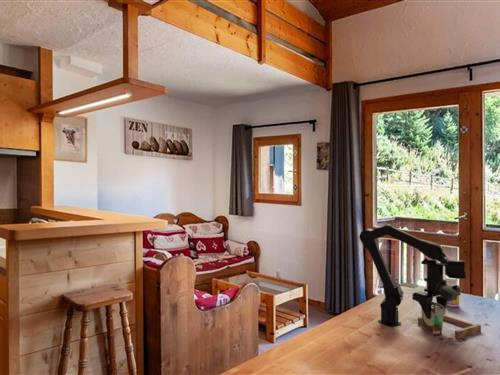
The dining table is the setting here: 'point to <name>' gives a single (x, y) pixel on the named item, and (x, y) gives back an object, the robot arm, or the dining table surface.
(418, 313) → the dining table surface
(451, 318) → the bay
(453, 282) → the supplement bottle
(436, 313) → the food container
